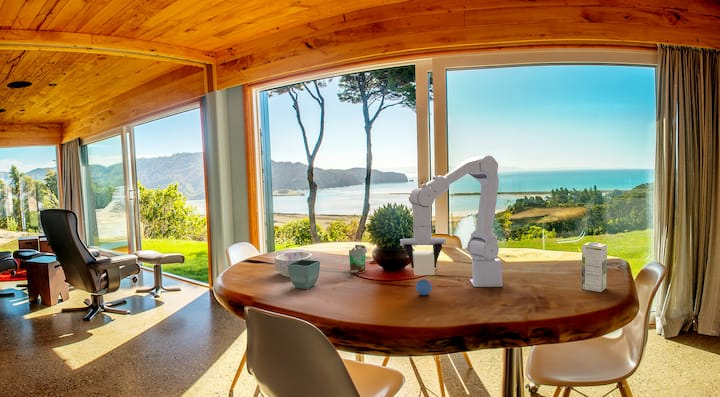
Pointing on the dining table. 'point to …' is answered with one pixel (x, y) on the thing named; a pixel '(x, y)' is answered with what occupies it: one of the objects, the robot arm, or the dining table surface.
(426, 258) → the white cube block
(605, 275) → the syrup box
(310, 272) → the flower pot
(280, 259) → the paper bowls
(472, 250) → the robot arm
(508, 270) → the dining table surface
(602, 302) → the dining table surface
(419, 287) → the ball
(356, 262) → the food container
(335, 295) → the dining table surface
